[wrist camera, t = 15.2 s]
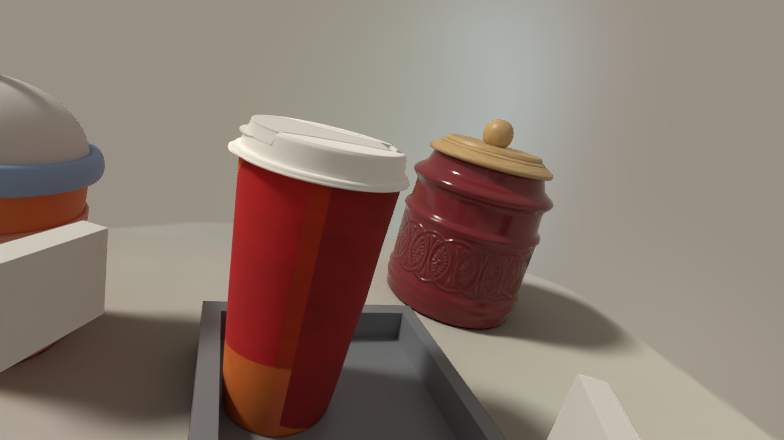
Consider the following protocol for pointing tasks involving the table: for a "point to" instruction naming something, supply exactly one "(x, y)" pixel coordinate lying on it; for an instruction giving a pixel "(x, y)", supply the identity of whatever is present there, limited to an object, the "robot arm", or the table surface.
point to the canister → (470, 229)
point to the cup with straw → (41, 164)
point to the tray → (358, 386)
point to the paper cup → (300, 265)
